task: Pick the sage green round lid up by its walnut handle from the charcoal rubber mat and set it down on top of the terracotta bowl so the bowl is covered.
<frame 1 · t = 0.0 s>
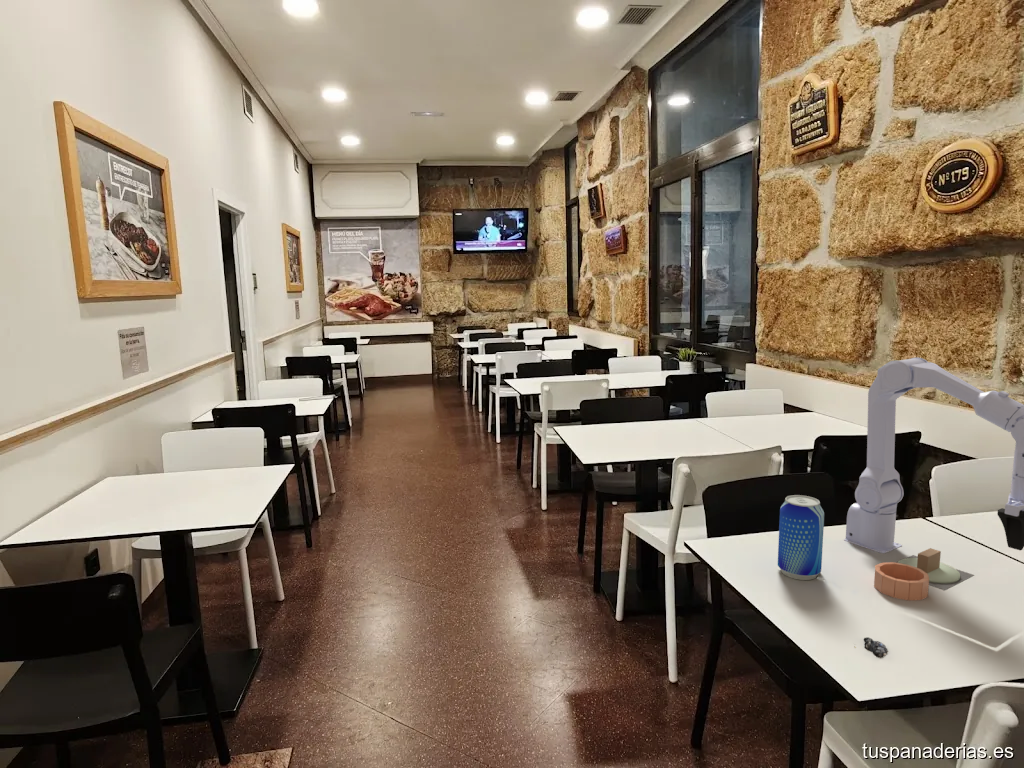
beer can: (798, 573, 136), on the table
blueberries: (871, 650, 108), on the table
lid: (927, 571, 134), resting on mat
bowl: (900, 591, 127), on the table
mat: (927, 573, 134), on the table
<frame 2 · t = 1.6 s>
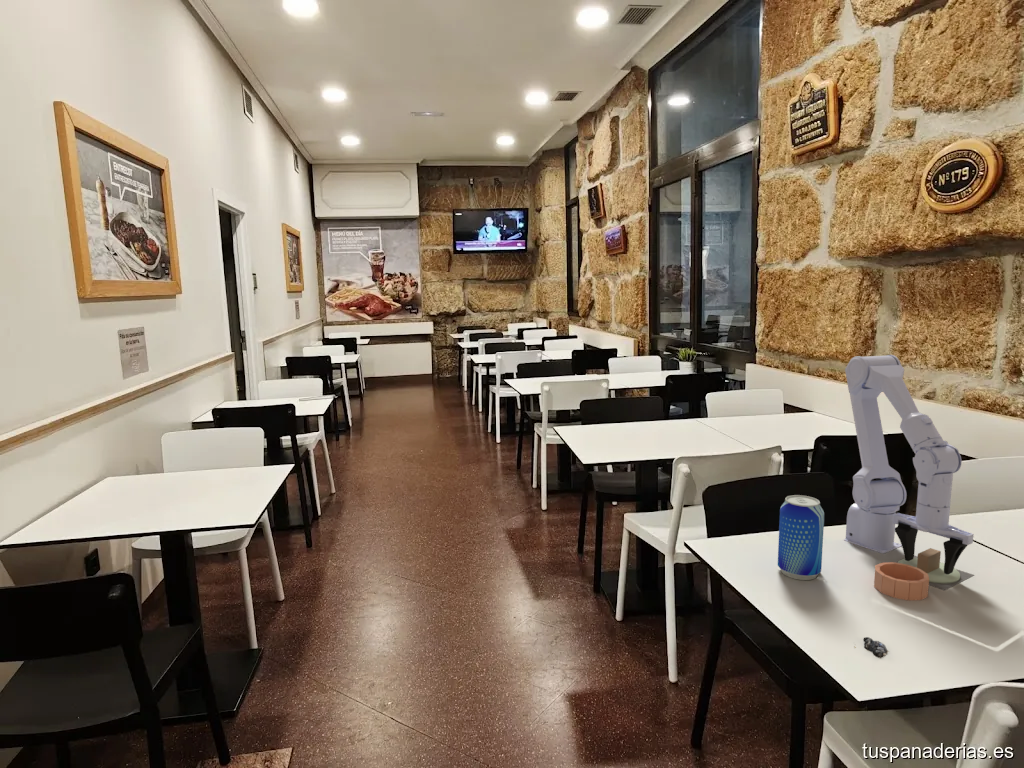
hand: (928, 566, 134), 2 cm above the table, tool pointing down, fingers open, 7 cm apart
nothing on the table moved.
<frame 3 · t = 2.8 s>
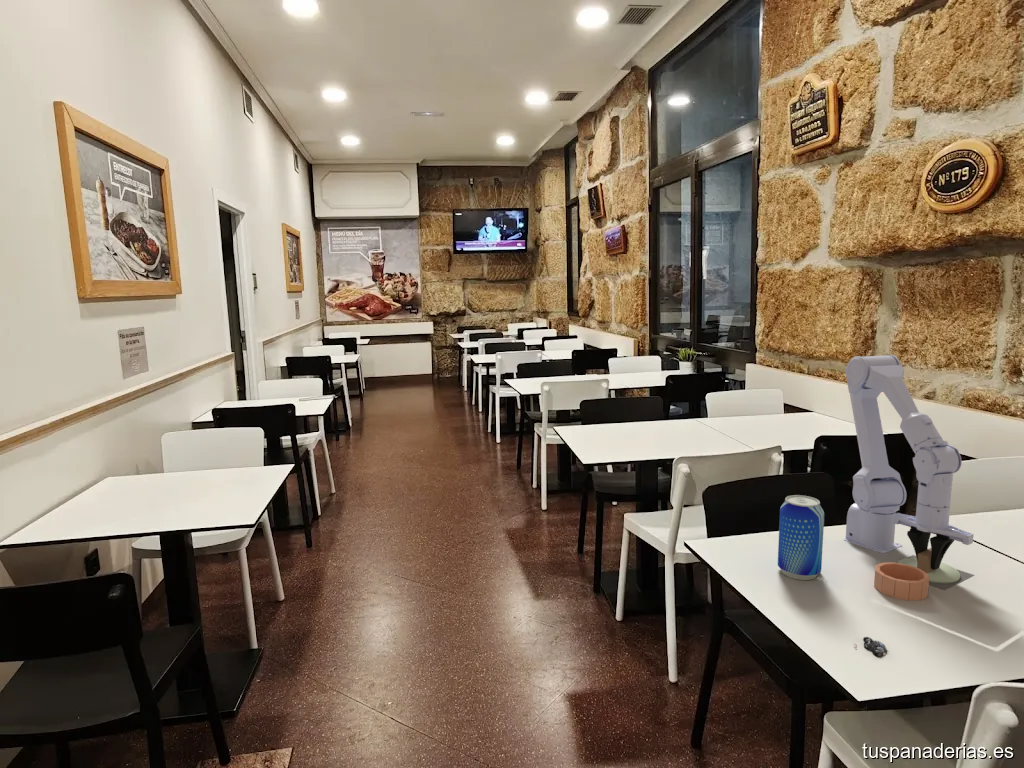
hand: (928, 566, 134), 2 cm above the table, tool pointing down, fingers closed on lid, 2 cm apart
lid: (927, 571, 134), resting on mat, touching gripper
everything else where it was.
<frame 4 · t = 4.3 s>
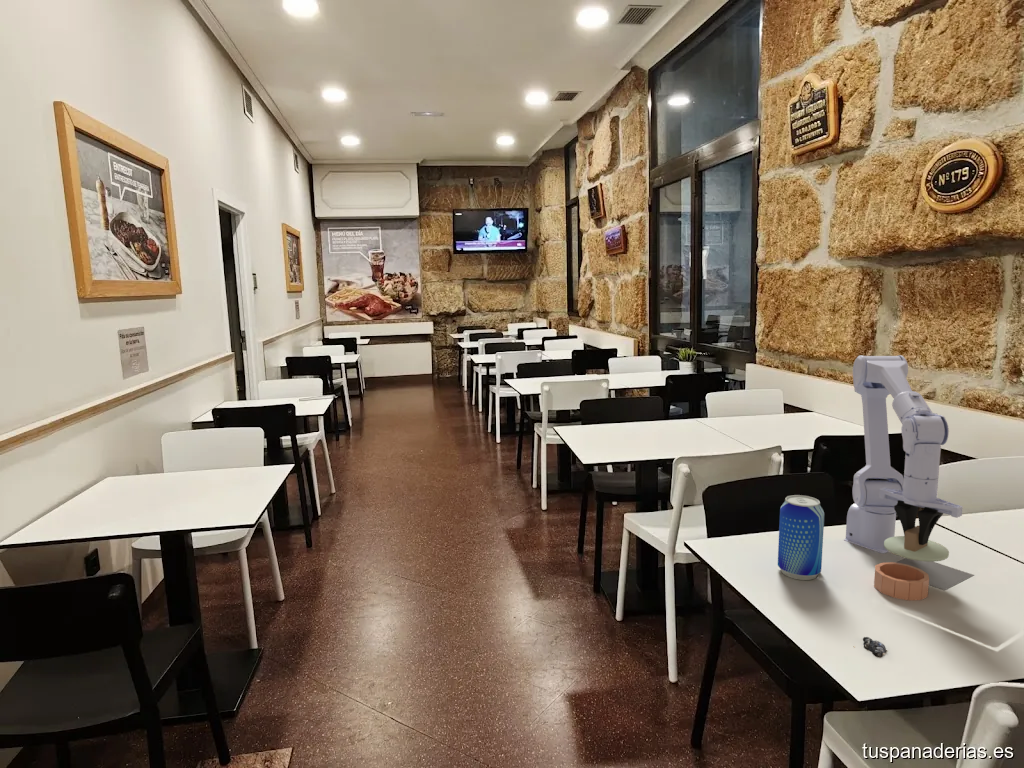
hand: (916, 541, 129), 9 cm above the table, tool pointing down, fingers closed on lid
lid: (915, 549, 129), point 7 cm above the table, touching gripper
everything else where it was.
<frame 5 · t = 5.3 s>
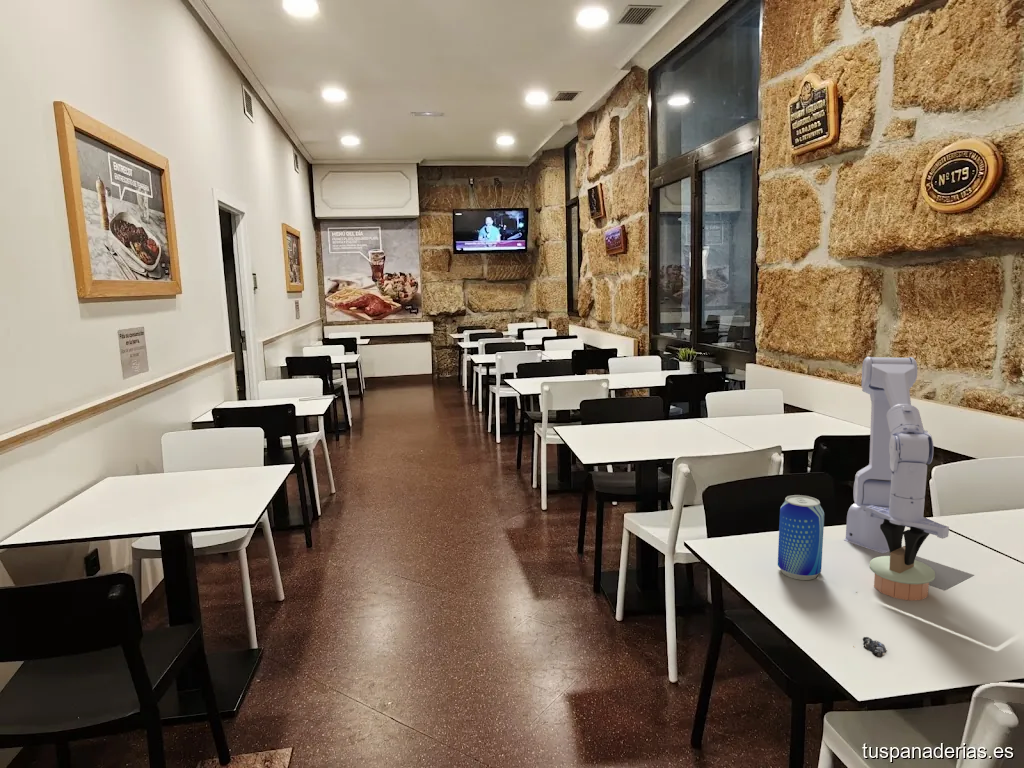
hand: (902, 561, 126), 6 cm above the table, tool pointing down, fingers closed on lid, 2 cm apart
lid: (901, 570, 126), point 4 cm above the table, touching gripper
everything else where it was.
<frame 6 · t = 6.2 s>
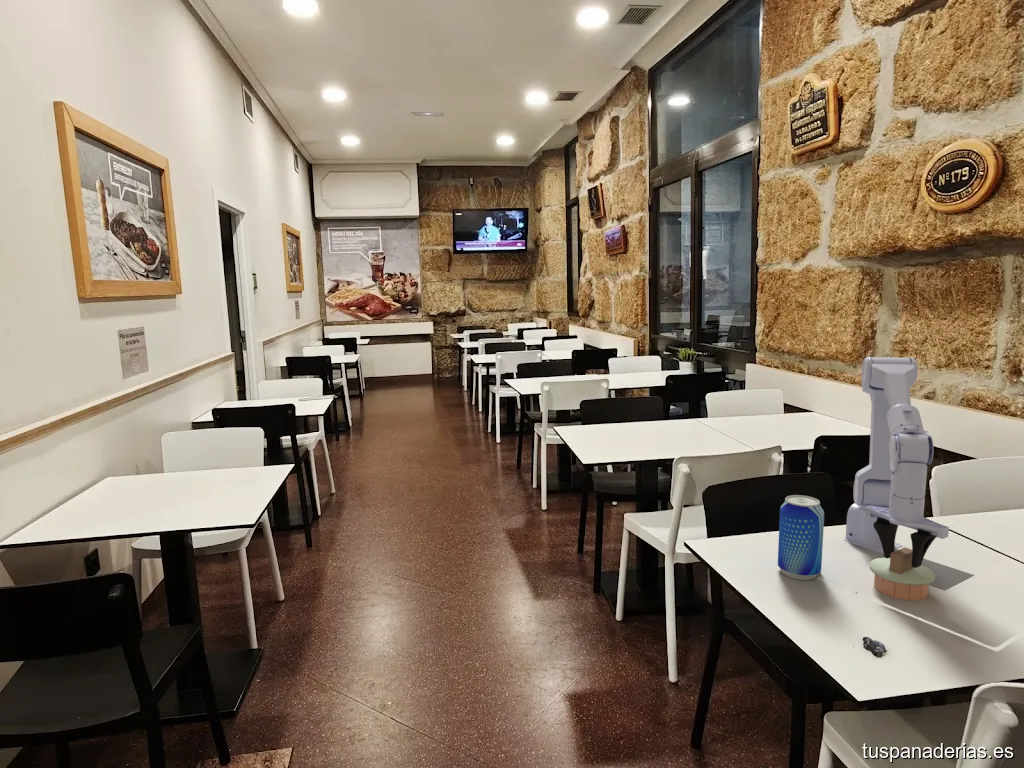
hand: (902, 561, 126), 6 cm above the table, tool pointing down, fingers open, 5 cm apart
lid: (901, 572, 126), point 4 cm above the table, touching bowl
everything else where it was.
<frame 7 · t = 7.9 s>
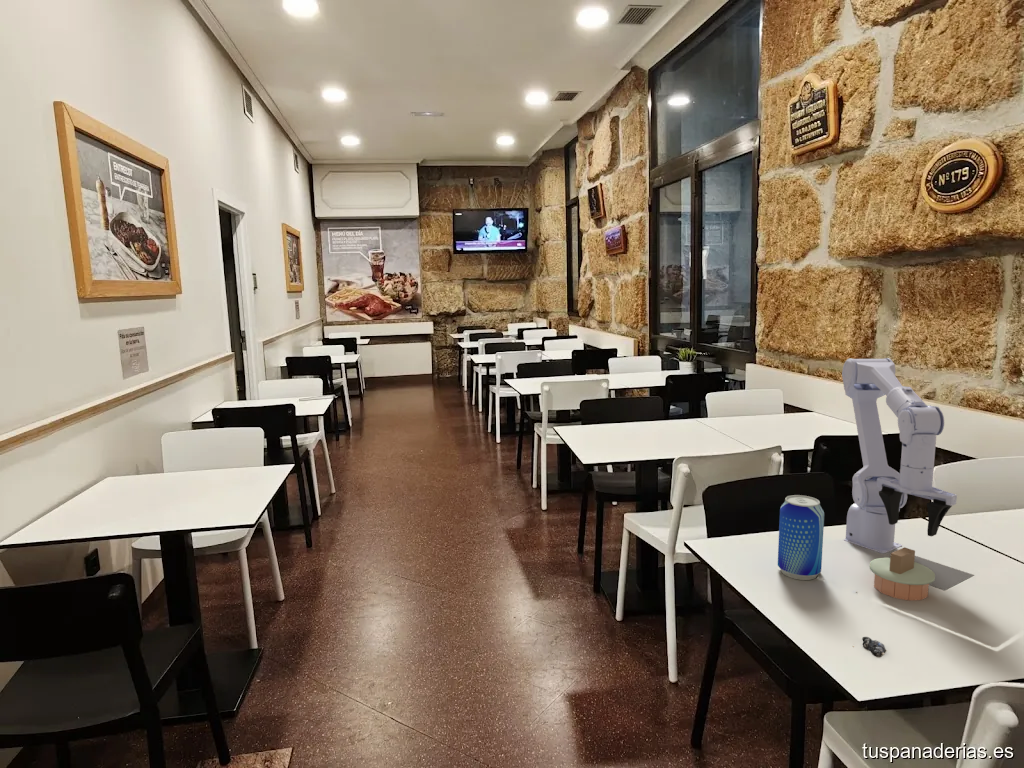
hand: (912, 529, 133), 10 cm above the table, tool pointing down, fingers open, 7 cm apart
nothing on the table moved.
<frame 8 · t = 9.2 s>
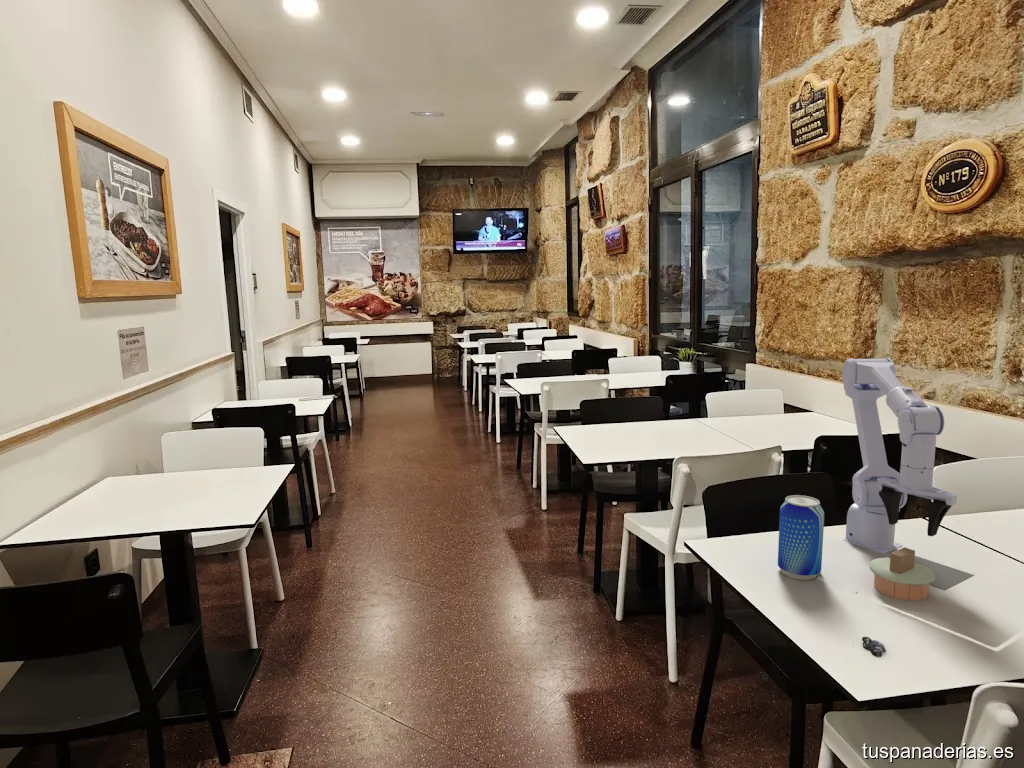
hand: (912, 529, 133), 10 cm above the table, tool pointing down, fingers open, 7 cm apart
nothing on the table moved.
at the end: lid 0.0 cm off-centre on the bowl, point 4.0 cm above the bowl's base; lid tilted 0°; the gripper is holding nothing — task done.
